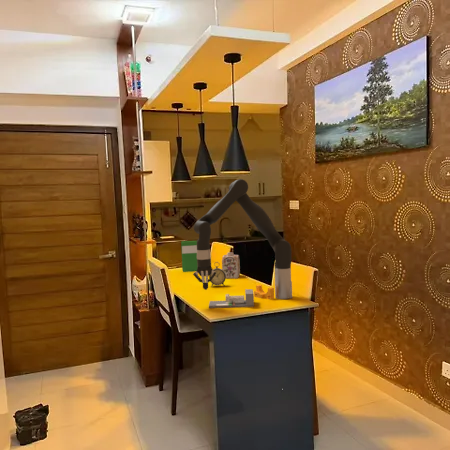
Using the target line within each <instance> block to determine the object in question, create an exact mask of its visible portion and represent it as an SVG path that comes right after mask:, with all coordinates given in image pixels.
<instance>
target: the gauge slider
mask: <svg viewBox="0 0 450 450" xmlns="http://www.w3.org/2000/svg"><path fill="white" fill-rule="evenodd" d="M244 300H245V295H230V294H229V293H226V294H225V301H226V304H236V303H244Z"/></svg>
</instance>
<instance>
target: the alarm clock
mask: <svg viewBox="0 0 450 450" xmlns="http://www.w3.org/2000/svg"><path fill="white" fill-rule="evenodd" d="M216 263H217V264H219V262H218V261H215V262H214V264H213V265H214V266H215V268H212V270H213V271H215V272H216V275H215V276H214V277H213V279H212V280H211V281H210V282H209V283H211V286H210V287H211V288H212V287H213V286H221V285H223V287H225V286H226V285H225V284H224V283H225V281H226V279H227V278H226V274H225V272H224V271H223V270H222V268H219V265H216ZM211 276H212V272H211V273H210V275H209V276H208V279H210V277H211Z"/></svg>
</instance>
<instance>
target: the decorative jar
mask: <svg viewBox="0 0 450 450" xmlns="http://www.w3.org/2000/svg"><path fill="white" fill-rule="evenodd" d="M221 267H222V268H221V269H222V270H223V271H224V272H225V274H226V279H239V277H240V276H239V275H241V274H240V273H241V270H240V269H241V266H240V255H239V254H234V252H227V253H226V254H224V255H222V258H221Z"/></svg>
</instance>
